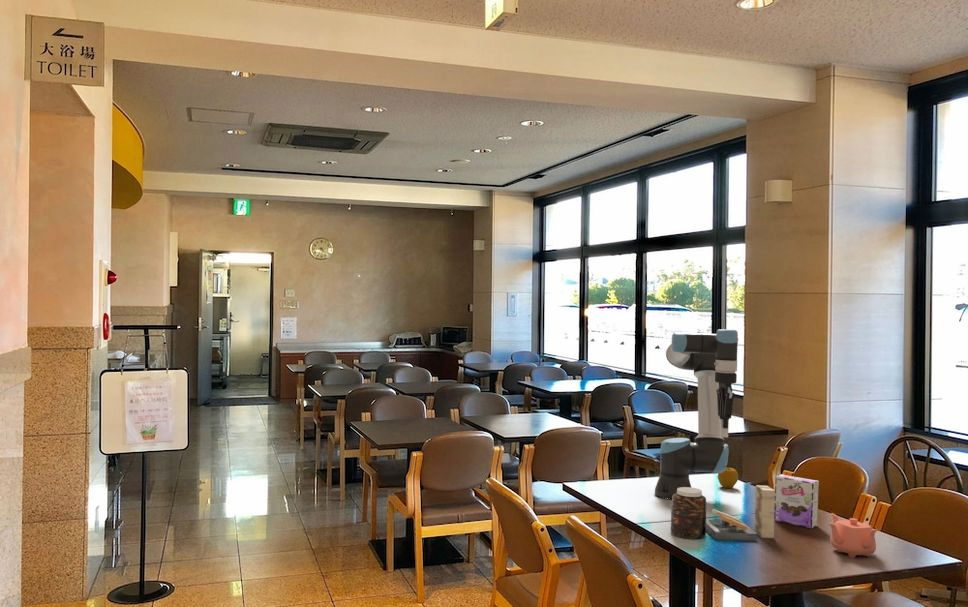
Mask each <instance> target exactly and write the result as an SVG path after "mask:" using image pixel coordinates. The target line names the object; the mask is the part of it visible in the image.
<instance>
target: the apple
mask: <svg viewBox="0 0 968 607" xmlns="http://www.w3.org/2000/svg"><path fill="white" fill-rule="evenodd" d="M717 480H718V482H719V485H720V486H721V487H722V488H724V489H731V488H732V489H733V488H734V486H736V484H737V483H738V480H739V474H738V472H737V470H736V469H735V468H733V467H726V469H725V471H724V472H722V473H717Z"/></svg>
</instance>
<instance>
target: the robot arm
mask: <svg viewBox="0 0 968 607" xmlns="http://www.w3.org/2000/svg"><path fill="white" fill-rule="evenodd" d="M738 333H739V332H738V331H737V329H727V328H726V329H725V328H723V329H720V328H719V329H717V330H716V333H704V332H703V333H702V332H701V333H698V332H697V333H695V332H682V331H681V332H673V333H672V336H671V344H669V346H668V347H667V349H666V350H665V358H666V360H667V361H668V363H669V364H670V365H671V366H673V367H675V368H678V369H680V370H684V371H693V376H694V377H695V378H696V379H697V411H698V412H697V414H698V415H697V418H698V419H697V422H698V425H697V426H698V428H697V429H698V434H697V436H695V437H694V442H691V440H690V438H688V437H672V438H667V439H664V440H663V441H661V443H660V450H659V453H660V456H659V457H660V460H659V477H658V479H657V482H656V484H655V486H654V487H655V488H654V495H655V494H656V495H657V497H658V496H660V497H659V498H661V497H664V498H663V499H665V498H668V499H667V500H671V499H672V496H673V494H675V493H677V489H678V488H680V487H691V488H693V486H692V484H691V481H690V472H696V473H697V472H698V473H712V474H715V473H717V474H718V473H722V472H724V471H725V469H726V468H727V465H728V460H729V454H730V452H729V451H730V450H729V448H730V447H729V445H728V443H725V438H729V429H730V427H729V426H730V425H729V424H730V423H729V420H730V419H732V413H733V405H734V398H735V393H734V392H733V388H732V384H736V383H737V373H736V372H738V344H739V335H738ZM656 495H655V496H656Z"/></svg>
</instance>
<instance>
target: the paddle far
mask: <svg viewBox="0 0 968 607" xmlns="http://www.w3.org/2000/svg"><path fill="white" fill-rule="evenodd" d="M711 513H712V514H714V515H715V516H719V514H722V515H724V516H726V517H729V518H731V519H733V520H735V521H738V522H740V521H741V520H740V519H738V517H735V516H732V515H730V514H727V513H725V512H723V511H720V510H718V509H715V508H712V510H711Z"/></svg>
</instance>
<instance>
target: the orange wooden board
mask: <svg viewBox="0 0 968 607" xmlns="http://www.w3.org/2000/svg"><path fill="white" fill-rule="evenodd" d="M717 516H718V515H717ZM718 518H719V519H720V521H722V520H724V521H726V522H728V523H730V524H733V525H735V526H737V527H739V528H742V529H744V530H746V529H747V526H748V525H747V526H745V525H744V524H742V523H740V522H738V521H735V520H733V519H731V518H729V517H726V516H724V515H722V514H719V516H718Z"/></svg>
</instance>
